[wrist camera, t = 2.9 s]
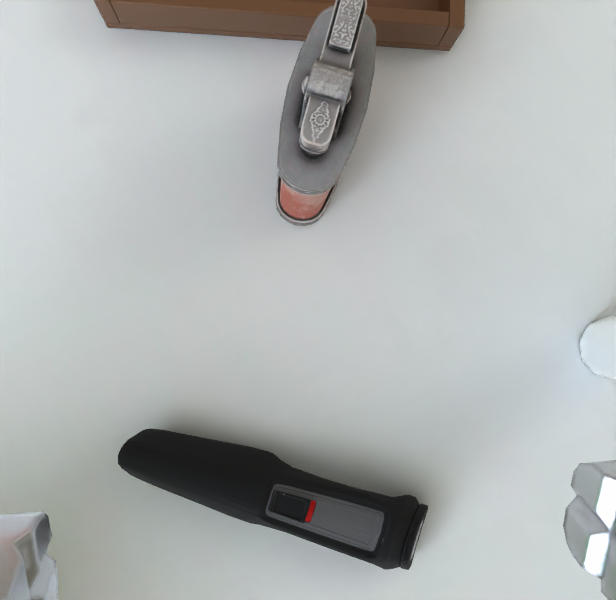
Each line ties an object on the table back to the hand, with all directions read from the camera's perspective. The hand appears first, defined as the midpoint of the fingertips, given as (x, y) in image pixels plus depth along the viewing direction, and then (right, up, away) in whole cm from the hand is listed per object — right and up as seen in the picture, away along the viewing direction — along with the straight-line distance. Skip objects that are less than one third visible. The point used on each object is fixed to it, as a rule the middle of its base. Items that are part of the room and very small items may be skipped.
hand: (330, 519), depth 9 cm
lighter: (0, +11, +23) cm, 25 cm away
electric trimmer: (-2, -7, +21) cm, 23 cm away
